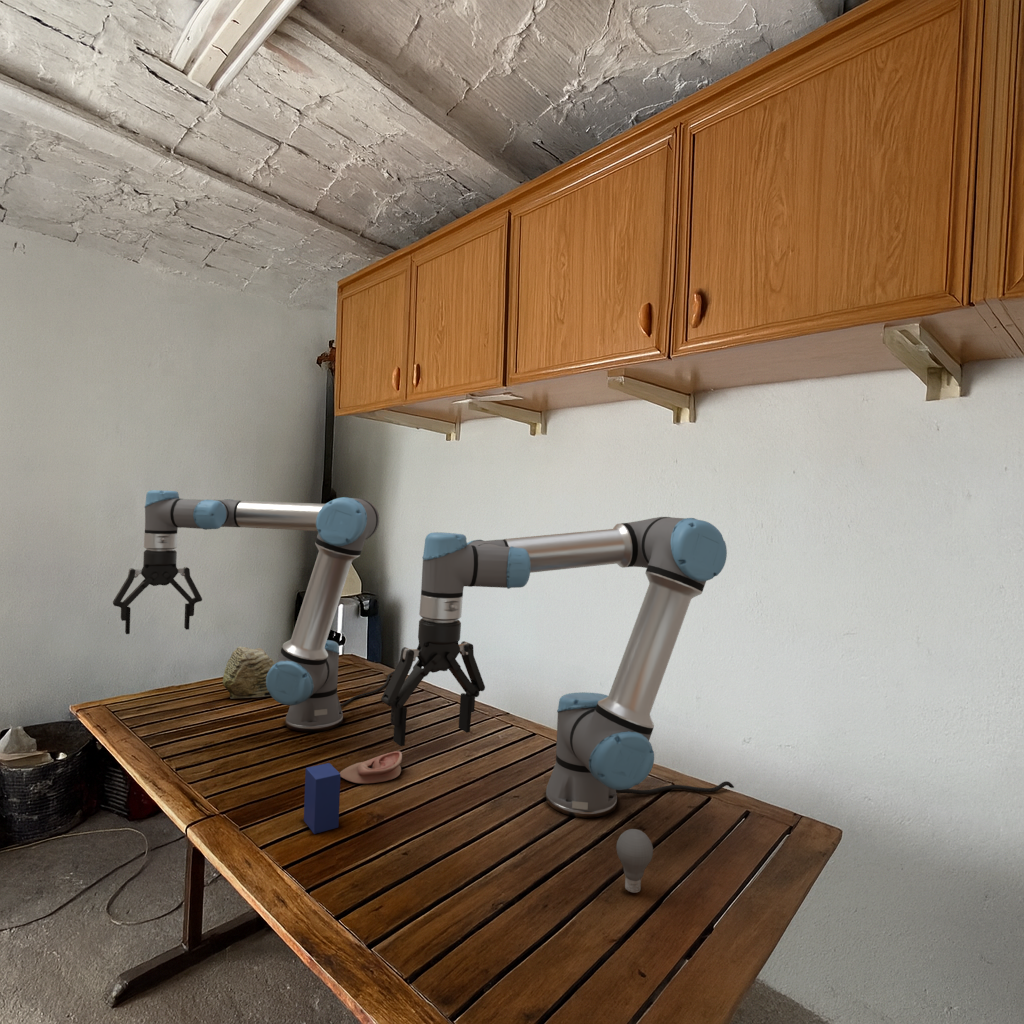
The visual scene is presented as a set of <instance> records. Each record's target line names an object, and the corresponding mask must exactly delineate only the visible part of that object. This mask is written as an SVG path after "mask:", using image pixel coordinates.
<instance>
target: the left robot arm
mask: <svg viewBox="0 0 1024 1024" xmlns="http://www.w3.org/2000/svg"><path fill="white" fill-rule="evenodd" d="M379 526H380V513H379V511H378V509H377V508H376V506H375V505H374V504H373V503H372V502H371V501H369V500H367V499H365V498H359V497H347V496H343V497H337V498H334V499H332V500H330V501H328V502H326V503H312V502H289V501H285V502H284V501H264V500H263V501H262V500H261V501H260V500H238V499H237V500H236V499H196V498H195V499H194V498H189V499H188V498H180V493H179V492H178V491H177V490H158V489H150V490H148V491H147V492H146V496H145V505H144V533H143V534H144V535H143V536H144V537H143V548H144V549H145V550H144V551H143V563H142V564H143V565H142V567H141V569H137V568H133V567H131V568H129V569H128V573H127V577H126V579H125V581H124V582H123V584H122V585H121V588H120V589H119V591H118V592H117V594H116V596H115V597H114V599H113V600H112V605H113V607H118V608H120V620H121V621H122V622H123V621H124V622H125V626H124V633H125V635H130V634H131V607H130V605H131V604H132V602H133V601H135V600H136V598H138V596H139V595H141V594H142V593H143V592H144V591H145V589H146V588H148V587H149V586H153V587H158V586H167V585H168V586H169V584H170V585H171V586H172V587H173V588H174V589H175V590H176V591H177V592H178V593H179V594H180V595H181V596H182V597H183V598H184V599H185V600H186V601H187V602H188V603H184V629H185V630H190V622H191V621H190V619H191V617H194V615H195V605H196V604H197V603H200V602H202V601H203V597H202V596H201V594H200V592H199V589H198V588H197V586H196V584H195V583H194V579H192V577H191V570H190V568H189V567H188V566H184V567H180V568H178V566H177V557H178V555H177V553H178V552H177V550H175V549H177V548H178V529H181V528H185V529H197V530H199V529H200V530H206V531H207V530H218V529H220V528H248V529H250V528H251V529H268V530H286V531H287V530H288V531H308V532H317V536H316V539H315V542H314V544H315V546H316V548H317V550H318V553H317V556H316V560H315V562H314V566H313V569H312V572H311V575H310V578H309V581H308V584H307V587H306V591H305V594H304V597H303V600H302V604H301V606H300V610H299V613H298V616H297V620H296V621H295V626H294V628H293V632H292V634H291V638H290V639H289V640H287V641H285V642H283V644H282V646H281V649H280V652H279V655H278V659H277V662H275V664H274V665H273V666H272V668H271V669H270V670H269V672H268V674H267V677H266V686H267V690H268V691H269V693H270V694H271V696H270V697H271V698H272V699H273V700H274V701H275V702H277V703H279V704H281V705H284V706H289V708H288V711H287V713H286V715H285V726H286V728H287V729H289V730H291V731H294V732H295V731H296V732H301V733H316V732H325V731H329V730H332V729H335V728H337V727H339V726H340V725H342V723H343V722H344V714H343V709H342V707H344V706H346V705H348V704H349V703H350V702H352V701H353V700H355V699H358V698H361V697H363V696H369V695H372V694H374V693H377V692H379V691H381V690H382V689H384V688H386V687H387V685H388V683H389V681H390V678H391V677H392V675H393V673H394V671H395V670H393V671H392V672H390V673H388V675H387V678H386V681H385V683H384V684H383V685H382V686H380V687H378V688H376V689H374V690H371V691H368V692H364V693H359V694H357V695H354V696H353V697H350V698H349V699H348V700H347V701H345V702H343V703H341V702H340V699H339V695H338V682H339V681H338V680H339V662H340V661H339V660H340V659H339V657H340V645H339V643H338V642H337V641H335V640H330V639H328V638H329V634H330V632H331V628H332V625H333V622H334V619H335V616H336V613H337V609H338V606H339V604H340V600H341V597H342V594H343V592H344V591H343V590H344V588H345V586H346V581H347V579H348V575H349V572H350V569H351V565H352V562H353V561H354V560H355V559H357V558H359V557H361V555H362V551H363V548H364V545H365V543H366V542H365V541H366V540H368V539H370V538H371V537H373V535H374V534H376V532H377V530H378V528H379ZM178 574H180V576H182V577H183V578H184V580H185V582H186V584H187V585H188V587H189V589H190V591H191V593H192V595H193V596H194V597H191V596H190V595H189V594H188V592H187V591H186V590H185V589H184V588H183V586H181V585H180V584H179V583H178V582H177V581H176V580H175V578H176V577H177V576H178ZM139 575H141V576H142V577H143V580H141V582H140V584H138V585H137V587H136V588H135V589H134V590H133V591H132V592H130V594H129V595H128V596H127V597H126V598H125V599H124V597H125V595H126V594H127V592H128V590H129V588H130V587H131V585H132V584H133V582H134V580H135V579H136V578H138V576H139ZM123 599H124V600H123ZM122 600H123V601H122Z"/></svg>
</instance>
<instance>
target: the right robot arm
mask: <svg viewBox="0 0 1024 1024" xmlns="http://www.w3.org/2000/svg"><path fill="white" fill-rule="evenodd" d="M727 557H728V549H727V544H726V541H725V540H724V537H723V535H722V533H721V531H720V530H719V529H718V528H717V527H716V526H715V525H714V524H712V523H711V522H708V521H706V520H702V519H698V518H694V517H686V518H684V517H671V516H659V517H653V518H652V517H651V518H647V519H642V520H636V521H630V522H621V523H617V524H615V525H614V526H613V528H606V529H596V530H587V531H586V530H585V531H574V532H565V533H555V534H554V533H553V534H544V535H542V534H541V535H533V536H523V537H522V536H521V537H512V538H504V539H503V538H502V539H492V540H491V539H490V540H482V539H474V540H470V541H468V542H467V536H466V535H465V534H463V533H456V532H455V533H454V532H453V533H452V532H438V531H436V532H435V531H434V532H430V533H428V534H427V535H426V537H425V539H424V547H423V554H422V569H421V587H420V600H419V603H420V604H419V613H418V614H419V616H420V617H421V618H420V619H419V620H418V629H417V631H418V632H417V640H418V645H417V648H408V647H405V646H404V647H402V648H401V650H400V657H399V661H398V663H397V665H396V667H395V669H394V670H393V671H394V673H393V674H392V675H391V676H390V678H389V681H388V683H387V685H386V686H385V690H384V692H383V694H382V696H381V697H380V701H381V702H382V703H384V705H387V706H388V707H391V709H390V724H391V725H392V726H394V727H393V738H392V742H394V743H395V744H396V745H398V746H399V747H404V746H406V733H407V732H406V731H407V729H406V728H407V713H408V707H407V706H404V705H405V704H406V703H407V702H408V700H409V698H410V697H411V695H412V694H413V692H414V691H416V689H417V688H418V686H419V685H420V683H421V682H422V681H423V680H424V678H425V677H428V675H429V674H430V673H438V672H448V670H449V672H450V674H452V676H453V677H454V678H455V680H456V681H457V683H458V685H459V686H460V687H461V688H462V690H463V691H464V692H461V693H460V700H459V714H458V715H459V716H458V729H459V730H461V731H463V732H464V733H466V734H467V733H471V724H472V723H471V722H472V721H471V720H472V713H474V712H475V706H476V698H479V696H480V692H484V691H485V690H486V685H485V683H484V680H483V678H482V674H481V672H480V668H479V666H478V663H477V660H476V658H475V656H474V655H475V654H474V644H472V643H470V642H467V641H461V642H460V640H461V633H462V632H461V629H462V622H461V621H460V619H461V618H462V612H463V596H464V587H469V588H473V587H476V588H477V587H481V588H500V589H501V588H503V589H508V590H509V589H512V588H513V589H515V588H519V589H520V588H523V587H525V586H527V584H528V582H529V579H530V576H531V573H541V572H552V571H560V570H569V569H580V568H588V567H597V566H599V567H600V566H607V565H609V566H610V565H617V566H618V567H620V568H624V569H625V568H633V567H635V568H645V576H646V578H647V580H648V582H649V583H648V587H647V590H646V592H645V595H644V598H643V600H642V603H641V606H640V608H639V611H638V614H637V617H636V620H635V622H634V625H633V628H632V630H631V633H630V636H629V639H628V641H627V644H626V646H625V650H624V652H623V655H622V658H621V660H620V663H619V666H618V669H617V671H616V674H615V676H614V680H613V683H612V685H611V688H610V691H609V693H608V695H607V694H603V693H600V692H599V693H598V692H587V691H586V692H585V691H584V692H570V693H566V694H563V695H561V697H560V698H559V700H558V707H557V710H556V712H557V724H556V747H555V748H556V750H555V762H554V763H555V764H554V766H553V769H552V772H551V775H550V777H549V780H548V782H547V784H546V789H545V799H546V800H545V801H546V802H547V804H548V805H549V806H550V807H551V808H552V809H554V810H555V811H557V812H559V813H562V814H564V815H567V816H571V817H576V818H586V819H587V818H589V819H591V818H599V817H603V816H607V815H609V814H611V813H613V812H614V811H615V810H616V808H617V803H618V796H617V795H618V794H632V795H652V794H657V793H661V792H665V791H669V790H670V791H671V790H685V791H691V792H698V793H715V792H719V791H720V790H722V789H723V788H725V787H726V786H727V787H729V788H731V789H734V788H735V786H734V785H733V784H732V783H731V782H730V781H729V780H728V781H722V782H721V783H719V784H718V785H716V786H714V787H697V786H691V785H682V784H671V785H664V786H659V787H656V788H650V789H634V788H633V787H635V786H638V785H640V784H641V783H642V782H644V781H645V780H646V779H647V777H648V776H649V775H650V773H651V771H652V769H653V767H654V762H655V752H654V749H653V746H652V743H651V742H650V739H651V736H652V734H653V731H654V728H655V724H654V722H653V719H652V717H651V712H652V709H653V706H654V704H655V702H656V698H657V695H658V693H659V690H660V687H661V685H662V683H663V682H662V681H663V679H664V676H665V673H666V670H667V668H668V665H669V663H670V660H671V657H672V653H673V651H674V649H675V646H676V643H677V640H678V638H679V634H680V632H681V629H682V626H683V623H684V620H685V618H686V615H687V612H688V609H689V606H690V605H691V604H690V603H691V601H692V599H694V598H695V597H698V596H700V595H702V594H703V592H704V588H705V585H706V584H707V581H710V580H713V579H714V578H715V577H717V576H718V575H720V573H721V572H722V571H723V570H724V567H725V565H726V562H727ZM459 642H460V643H459ZM459 654H460V655H461V659H462V661H463V665H464V667H465V669H466V673H467V675H468V676H467V675H466V673H465V672H464V671H463V669H462V666H461V665H460V663H459V662H458V661H457V657H458V656H459ZM416 658H417V661H416ZM415 661H416V662H415ZM414 662H415V664H414V665H413V663H414ZM411 668H412V671H411ZM632 788H633V789H632Z"/></svg>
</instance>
